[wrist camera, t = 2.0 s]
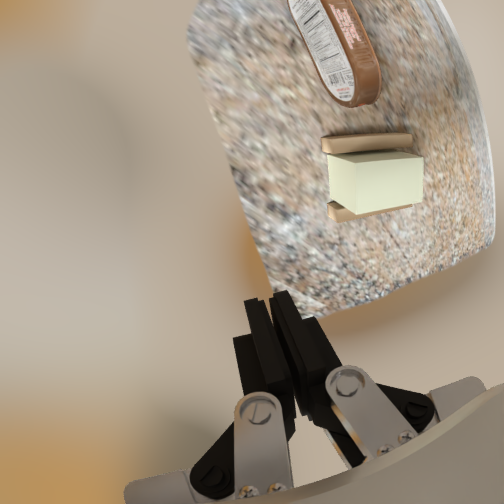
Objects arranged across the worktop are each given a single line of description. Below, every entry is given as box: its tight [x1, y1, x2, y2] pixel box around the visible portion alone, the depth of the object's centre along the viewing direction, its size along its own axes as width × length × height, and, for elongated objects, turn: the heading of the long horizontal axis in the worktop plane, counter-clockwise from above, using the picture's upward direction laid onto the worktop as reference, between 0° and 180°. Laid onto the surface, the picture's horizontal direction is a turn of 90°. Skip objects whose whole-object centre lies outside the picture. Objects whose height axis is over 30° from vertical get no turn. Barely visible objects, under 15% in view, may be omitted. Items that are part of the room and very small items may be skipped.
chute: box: [321, 132, 413, 223], centre depth 28 cm, size 9×11×2 cm
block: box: [327, 149, 424, 215], centre depth 26 cm, size 5×9×6 cm, turn 99°
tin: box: [287, 0, 382, 108], centre depth 18 cm, size 15×3×8 cm, turn 23°
